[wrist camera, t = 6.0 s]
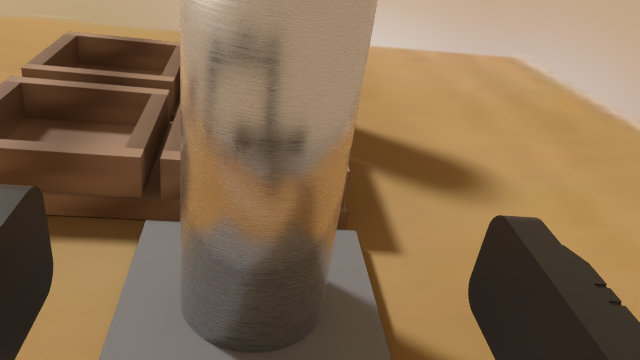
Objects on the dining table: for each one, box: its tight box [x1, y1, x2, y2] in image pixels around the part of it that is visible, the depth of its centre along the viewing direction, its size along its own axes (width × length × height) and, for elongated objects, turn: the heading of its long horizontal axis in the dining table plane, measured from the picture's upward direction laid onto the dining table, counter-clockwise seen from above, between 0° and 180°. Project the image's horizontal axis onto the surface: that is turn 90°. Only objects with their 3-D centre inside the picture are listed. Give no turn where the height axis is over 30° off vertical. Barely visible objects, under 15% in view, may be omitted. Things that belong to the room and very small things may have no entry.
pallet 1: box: [21, 31, 180, 122], centre depth 34 cm, size 18×9×3 cm, turn 96°
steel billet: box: [180, 0, 378, 353], centre depth 15 cm, size 5×5×12 cm
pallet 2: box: [0, 76, 350, 229], centre depth 26 cm, size 18×9×3 cm, turn 96°
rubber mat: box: [99, 220, 392, 360], centre depth 19 cm, size 9×9×1 cm
